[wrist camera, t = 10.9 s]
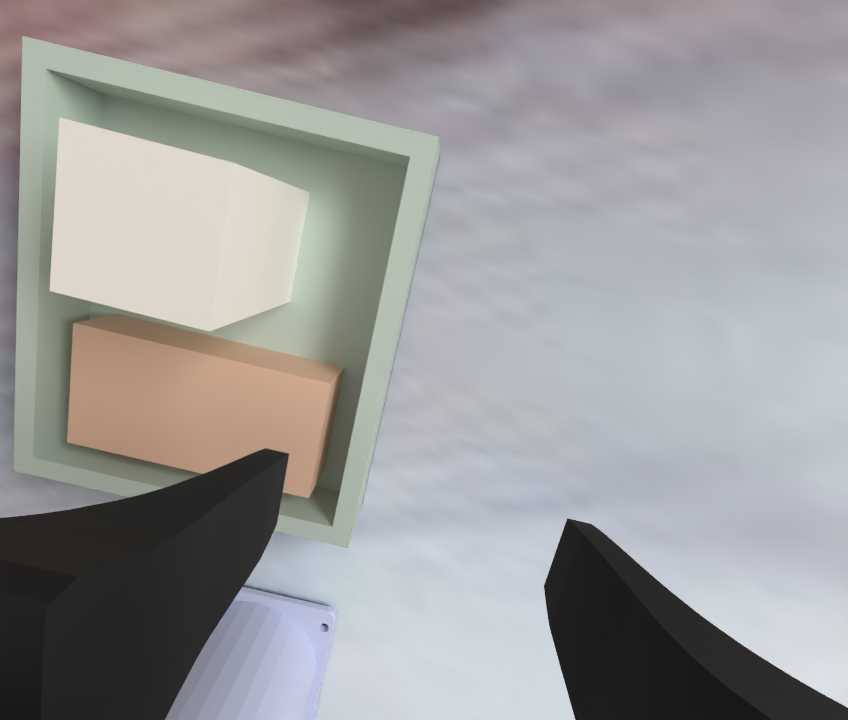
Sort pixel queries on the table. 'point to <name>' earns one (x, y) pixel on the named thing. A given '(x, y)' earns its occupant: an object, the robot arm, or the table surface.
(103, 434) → the cracker box
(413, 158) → the tote
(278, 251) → the carton
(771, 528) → the table surface
